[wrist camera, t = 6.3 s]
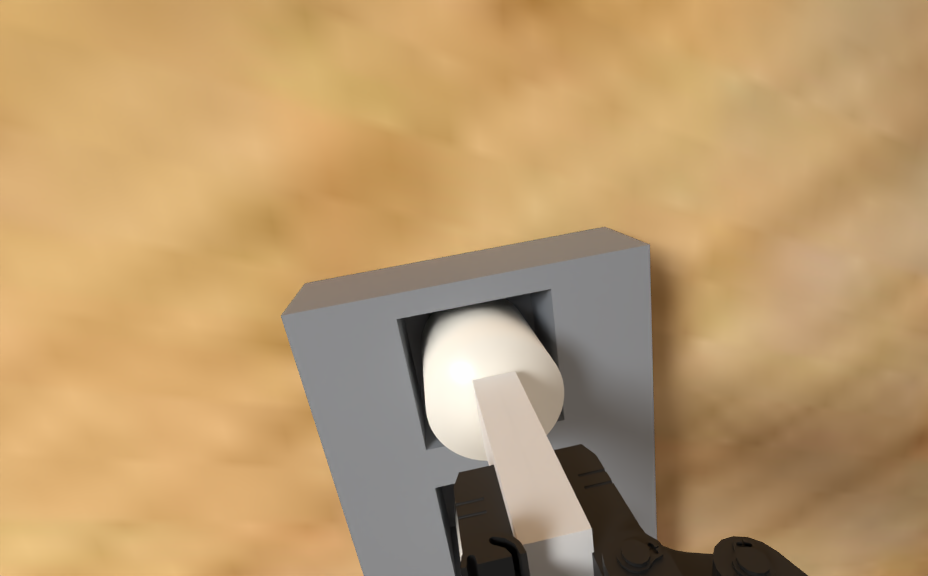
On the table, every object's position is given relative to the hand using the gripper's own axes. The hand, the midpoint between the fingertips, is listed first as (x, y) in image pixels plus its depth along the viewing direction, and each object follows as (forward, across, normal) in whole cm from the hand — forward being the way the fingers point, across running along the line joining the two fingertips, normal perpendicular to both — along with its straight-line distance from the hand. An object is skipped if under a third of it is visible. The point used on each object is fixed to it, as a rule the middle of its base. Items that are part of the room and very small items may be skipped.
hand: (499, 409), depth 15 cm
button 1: (+5, 0, 0) cm, 5 cm away
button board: (+7, 0, -8) cm, 10 cm away
